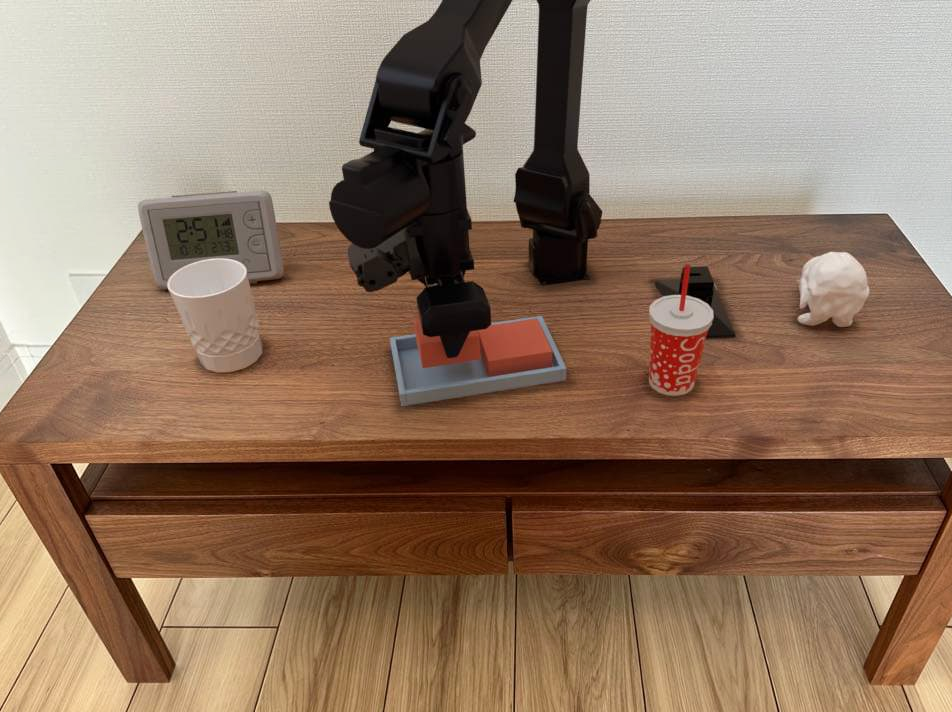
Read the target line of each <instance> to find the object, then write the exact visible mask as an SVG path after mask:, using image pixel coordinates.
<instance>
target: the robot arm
mask: <svg viewBox="0 0 952 712" xmlns="http://www.w3.org/2000/svg"><path fill="white" fill-rule="evenodd" d="M513 1H514V0H441V2H440V4H439V5H438V6H437V9H436V10H435V12H433V14H432V15H431V17H430V18H429V19H428V20H427V21H425V22H422V24H419V25H418V26H416V27H414V28H413V29H411V30H410V31H407V32H406V33H404V34H403V35H402V36H401V37H400V38H399V40H398V41H397V42H396V43H395V44H394V46H392V48H391V49H390V50H389V51H388V52H387V54H386V55H385V56H384V57H383V58H382V60H381V62H380V64H379V67H378V69H377V71H376V74H375V75H376V76H375V81H374V86H373V89H372V92H371V96H370V99H369V103H368V107H367V110H366V114H365V117H364V121H363V125H362V129H361V132H360V136H359V140H358V144H359V146H361V147H364V148H369V149H373V151H371V152H370V153H368V154H366V155H363V156H361V157H360V158H356V159H355V158H354V159H351V160H349V161H347V162H345V163H344V164H342V166H341V172H342V177H343V179H342V180H340V181H339V182H337V183H336V184H335V185H334V186H333V187H332V191H331V193H330V200H329V201H328V205H329V211H330V214H331V218H332V219H333V222H334V224H335V226H336V228H337V229H338V230H339V232H340V233H341V234H342V235H343V236H344V238H345V239H346V240H348V241H349V242H350V243H351V244H349V245H348V247H347V256H348V265H349V267H350V268H351V270H352V272H353V273H354V275H355V277H356V282H357V285H358V286H359V287H361V288H363V289H364V291H365V292H367V293H373V292H378V291H381V290H382V289H385V288H386V287H389V286H391V285H393V284H395V283H397V281H398V279H399V278H401V277H403V276H405V275H407V274H409V276H410V279H411V281H418V282H420V283H421V284H422V285H423V286H424V288H423V290H422V291H421V292H419V294H418V295H417V296H416V298H415V299H416V300H415V301H416V309H417V314H418V317H419V320H420V324H421V328H422V332H423V335H425V336H428V337H435V336H440V339H441V342H442V344H443V347H444V350H445V353H446V356H447V358H454V357H457V356H458V355H459V353H460V351H461V349H462V347H463V345H464V343H465V341H466V339H467V337H468V335H469V333H470V331H476V330H483V329H487V328H488V327H489V326H490V325H491V323H492V309H491V305H490V302H489V299H488V297H487V294H486V292H485V289H484V287H482V286H481V285H480V284H477V283H476V282H475V281H474V280H470V281H465V276H466V271H472V270H475V260H474V257H473V254H472V251H471V249H470V235H469V231H471V230H473V224H472V223H473V222H472V217H471V215H470V213H469V210H468V203H467V202H468V201H467V189H466V173H465V158H464V145H465V144H467V143H468V142H470V141H472V140H473V139H475V138H476V136H477V132H476V130H475V129H474V128H473V127H471V126H470V125H468V124H466V122H467V120H468V118H469V117H470V114H471V112H472V110H473V107H474V104H475V102H476V99H477V97H478V95H479V92H480V90H481V88H482V85H483V79H482V68H481V58H482V57H483V55H484V52H485V50H486V48H487V46H488V44H489V42H490V41H491V39H492V37H493V36H494V34H495V32H496V30H497V28H498V27H499V25H500V23H501V22H502V19H503V18H504V16H505V15H506V13H507V11H508V10H509V7H510V6H511V4H512V3H513ZM535 1H536V3H537V5H538V19H537V20H538V22H537V23H538V25H537V49H536V50H537V51H536V76H535V103H534V105H535V106H534V108H535V109H534V128H533V129H534V131H533V150H532V152H531V154H530V155H529V156H528V157H527V159H526V161H525V162H524V164H523V166H519V167H518V168H517V169H516V171H515V173H514V179H515V190H514V191H515V192H514V197H513V203H514V204H515V209H516V212H517V215H518V219H519V223H520V226H521V229H529V230H532V237H529V238H528V268H529V269H530V272H531V275H532V276H533V277H534V278H537V281H538V283H539V285H540V286H542V287H544V286H545V287H546V286H553V285H559V284H566V283H573V282H574V283H575V282H583V281H588V280H590V279H591V274H590V272H589V271H588V249H589V247H588V246H589V240H593V239H596V238H597V237H598V230H599V229H600V227H601V224H602V216H603V210H602V208H601V207H600V206H599V205H598V203H597V202H596V200H595V199H594V198H593V197H592V196H591V194H590V183H591V182H590V178H591V177H590V171H589V169H588V168H587V166H586V163H585V161H584V159H583V158H582V155H581V153H580V151H579V147H578V146H579V145H578V144H579V130H580V115H581V102H582V101H581V100H582V89H583V74H584V59H585V45H586V44H585V43H586V29H587V19H588V17H587V15H588V7H589V4H590V3H591V0H535ZM392 122H393V123H396V124H401V125H405V126H411V127H415V128H420V129H423V130H421V131H419V132H415V131H414V132H413V131H409V130H406V129H405V130H404V129H400V128H395V127H390V125H391V123H392Z"/></svg>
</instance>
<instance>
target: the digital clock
mask: <svg viewBox="0 0 952 712" xmlns="http://www.w3.org/2000/svg"><path fill="white" fill-rule="evenodd" d="M137 211H138V216H139V220H140V225H141V230H142V235H143V238H144V242H145V247H146V251H147V256H148V260H149V264H150V269H151V273H152V278H153V281H154V284H155V286H156V287H157V288H159V289H161V290H169V289H168V287H167V283H168V280H169V278H170V277H171V276H172V275H173V274H174V273H175V272H176V271H177V270H179V269H181V268H182V267H184V266H187V265H189V264H191V263H194V262H198V261H202V260H207V259H216V258H224V259H232V260H235V261H238V262H240V263H242V264H243V265H244V266H245V267H246V270H247V274H248V278H249V283H250V285H253V284H258V282H260V281H271V280H278V279H281V278H282V277H284V274H285V268H284V267H285V266H284V261H283V255H282V249H281V243H280V237H279V232H278V226H277V219H276V214H275V208H274V203H273V198H272V195H271V193H270V192H269V191H267V190H249V191H237V190H230V191H218V192H217V191H216V192H204V193H192V194H191V193H190V194H178V195H171V197H159V198H148V199H143V200H140V201H139V202H138V204H137Z"/></svg>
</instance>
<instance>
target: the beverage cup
mask: <svg viewBox="0 0 952 712" xmlns="http://www.w3.org/2000/svg"><path fill="white" fill-rule="evenodd" d="M684 267H685V271H684V278H683V285H682V292H681V295H670V296H664V297H663V296H662V297H659V298H657V299H655V300H654V301H652V303H651V304H650V305H649V308H648V321H649V322H650V343H649V345H650V346H649V365H648V366H649V369H648V383H649V386H650V387H651V389H653V390H654V391H656V393H658V394H659V393H660V394H663V395H666V396H673V397H675V396H682V395H686V394H688V393H690V392H691V391H692V390H693V388H694V387H695V384H696V380H697V376H698V371H699V367H700V363H701V360H702V355H703V351H704V347H705V343H706V339H707V338H706V336H707V332H708V329H709V328H710V326H711V325H712V321H713V318H714V316H713V310H712V308H711V307H710V306H709V305H708V304H707V303H705V302H704V301H702V300H700V299H698V298H694V297H691V296H686V293H687V286H688V279H689V273H690V267H691V264H690V263H686V264H684Z"/></svg>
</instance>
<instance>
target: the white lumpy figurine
mask: <svg viewBox="0 0 952 712" xmlns="http://www.w3.org/2000/svg"><path fill="white" fill-rule="evenodd" d="M796 282H797V283H798V284H797V287H798V290H799V291H798V292H799V299H800V300H799V301H800V302H799V309H805V308H806V307H807V306H808V308H809V312H806V313H802V314H801V315H799V316H798V317H797V322H798V323H799V324H801V325H806V326H811V327H812V326H816V325H820V324H822V323H824V322H827V321H828V320H829V319H831V321H832V323H833V324H834V325H835V326H837V327H838V328H846V327H850V326H852V325H853V318H854V316H855V315H856V314H858V313H859V312H860V311H861V310H862V308H863V307H864V305H865V303H866V300H867V299H868V298H869V296H870V287H869V285H868V276H867V273H866V270H865V269H864V267H863V265H862V264H861V263H860V261H858V260H857V259H856V258H855V257H854V256H853V255H852V254H850V253H849V252H845V251H841V252H838V251H829V252H827V253H823V254H821V255H817V256H814V257H812V258H810V259H809V260H808V261H806V263H805V264H804V265H803V267H802V270H801V278H798V279H796Z"/></svg>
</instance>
